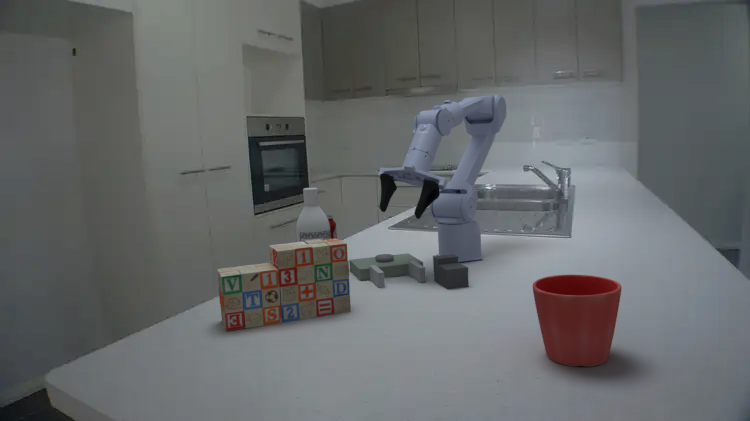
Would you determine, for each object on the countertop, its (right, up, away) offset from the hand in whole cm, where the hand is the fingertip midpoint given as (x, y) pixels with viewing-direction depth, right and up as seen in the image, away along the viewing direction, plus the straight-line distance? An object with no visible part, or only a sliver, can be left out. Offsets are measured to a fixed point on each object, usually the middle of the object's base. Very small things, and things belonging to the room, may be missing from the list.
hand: (399, 212), depth 114 cm
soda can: (-17, -13, +17) cm, 27 cm away
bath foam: (-17, -15, +3) cm, 23 cm away
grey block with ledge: (+10, -14, -2) cm, 18 cm away
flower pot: (+22, -19, -39) cm, 49 cm away
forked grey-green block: (-2, -13, +7) cm, 15 cm away
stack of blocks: (-20, -18, -17) cm, 32 cm away
